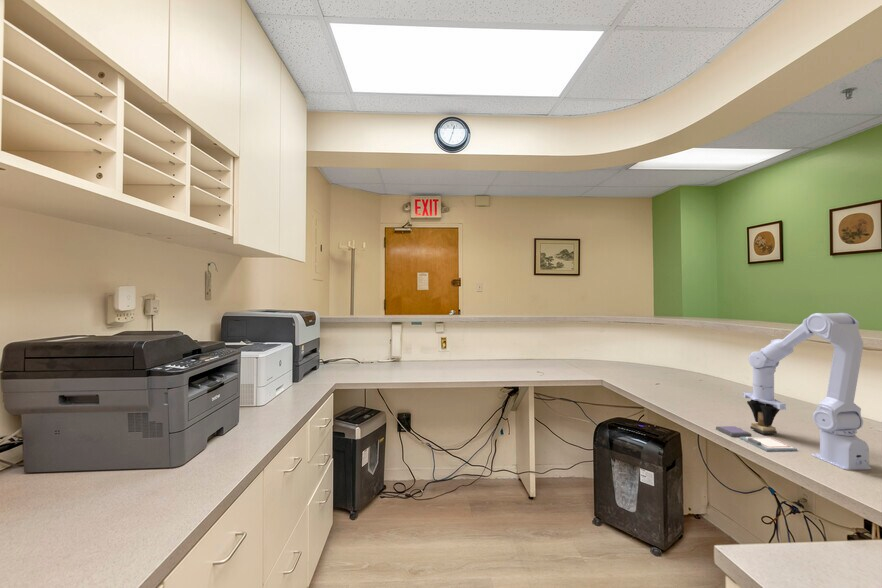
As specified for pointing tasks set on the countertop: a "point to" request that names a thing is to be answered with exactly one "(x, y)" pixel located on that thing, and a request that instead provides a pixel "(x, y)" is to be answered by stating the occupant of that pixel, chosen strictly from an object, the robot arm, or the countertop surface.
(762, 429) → the stamp
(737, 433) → the ink pad
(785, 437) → the countertop surface
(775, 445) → the clipboard
